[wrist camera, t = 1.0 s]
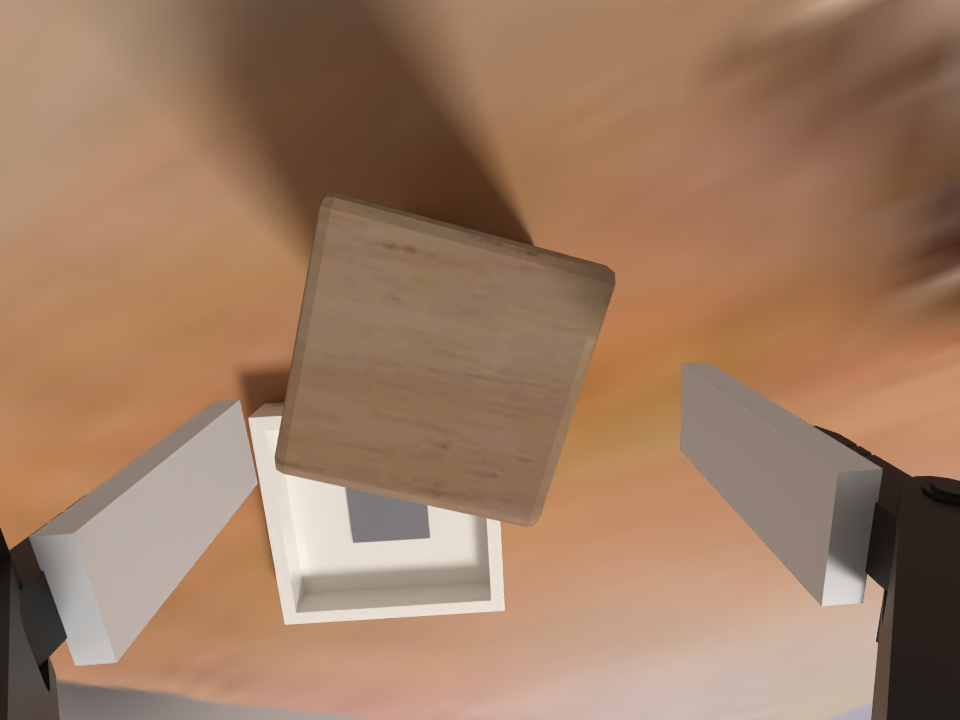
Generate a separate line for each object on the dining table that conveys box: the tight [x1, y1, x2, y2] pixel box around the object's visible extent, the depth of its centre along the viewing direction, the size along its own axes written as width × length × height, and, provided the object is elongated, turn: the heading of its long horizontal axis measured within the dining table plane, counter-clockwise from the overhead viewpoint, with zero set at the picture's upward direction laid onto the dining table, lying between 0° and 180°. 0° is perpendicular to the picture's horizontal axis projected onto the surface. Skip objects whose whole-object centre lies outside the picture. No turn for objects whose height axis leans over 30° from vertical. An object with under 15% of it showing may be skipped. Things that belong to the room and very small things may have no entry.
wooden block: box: [274, 193, 615, 527], centre depth 27 cm, size 10×10×20 cm
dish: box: [248, 402, 505, 625], centre depth 39 cm, size 17×17×3 cm
